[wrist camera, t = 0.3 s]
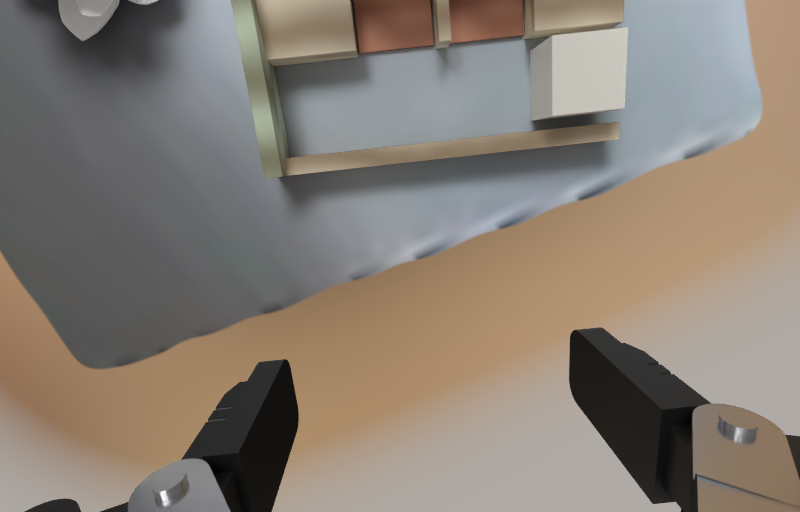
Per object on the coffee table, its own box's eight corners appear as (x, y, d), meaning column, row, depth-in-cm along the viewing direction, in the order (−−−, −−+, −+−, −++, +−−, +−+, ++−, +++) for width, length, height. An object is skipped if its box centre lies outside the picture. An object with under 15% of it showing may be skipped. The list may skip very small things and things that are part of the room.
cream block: (529, 51, 35) (552, 35, 31) (594, 44, 35) (628, 27, 31) (530, 120, 37) (552, 116, 32) (593, 114, 37) (624, 108, 32)
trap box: (243, -9, 33) (225, -30, 29) (609, -47, 33) (638, -74, 30) (277, 175, 37) (265, 178, 33) (604, 140, 37) (629, 138, 34)
